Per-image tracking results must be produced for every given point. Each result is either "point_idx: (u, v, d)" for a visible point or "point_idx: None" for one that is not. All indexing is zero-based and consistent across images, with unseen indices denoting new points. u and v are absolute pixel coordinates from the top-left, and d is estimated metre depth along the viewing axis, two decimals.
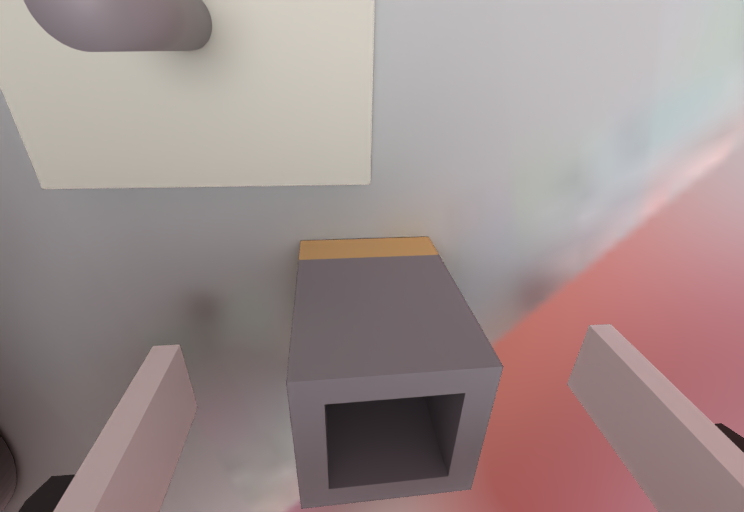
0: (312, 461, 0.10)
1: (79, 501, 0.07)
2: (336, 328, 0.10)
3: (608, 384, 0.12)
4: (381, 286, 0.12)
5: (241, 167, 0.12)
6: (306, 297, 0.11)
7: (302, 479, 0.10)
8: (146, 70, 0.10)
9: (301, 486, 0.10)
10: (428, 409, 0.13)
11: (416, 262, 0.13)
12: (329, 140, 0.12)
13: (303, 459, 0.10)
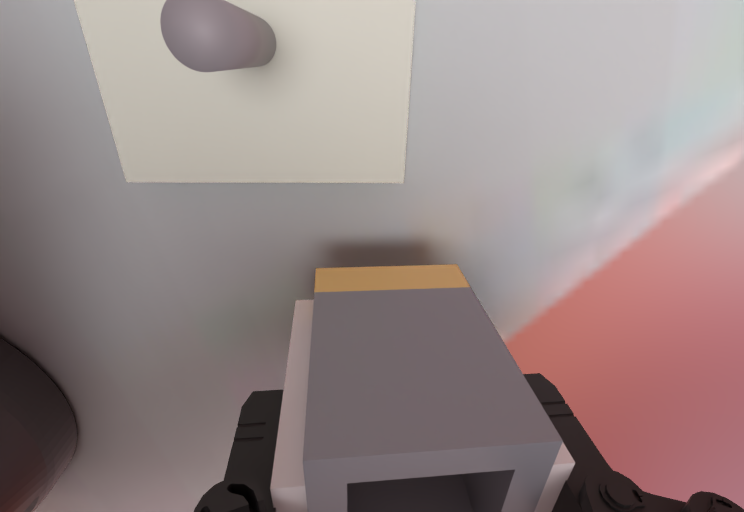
0: None
1: (297, 401, 0.09)
2: (359, 384, 0.08)
3: None
4: (408, 327, 0.10)
5: (292, 166, 0.14)
6: (324, 340, 0.10)
7: None
8: (219, 83, 0.12)
9: None
10: None
11: (446, 296, 0.12)
12: (369, 143, 0.13)
13: None
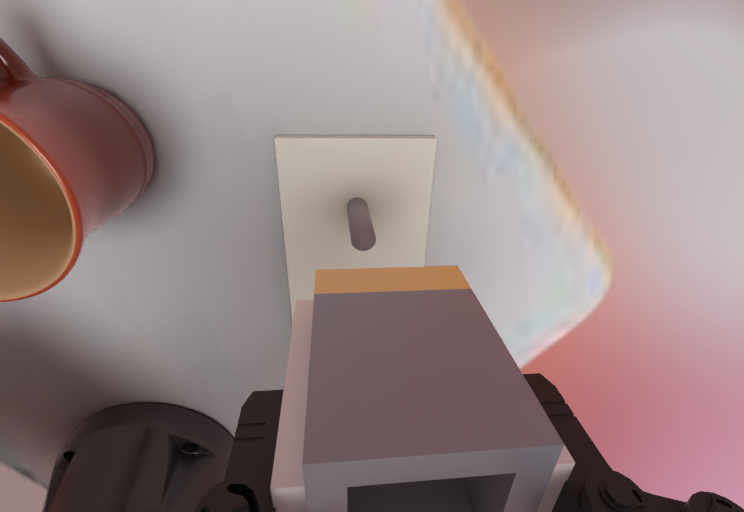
0: None
1: (297, 401, 0.09)
2: (360, 386, 0.08)
3: None
4: (409, 329, 0.10)
5: None
6: (324, 343, 0.10)
7: None
8: None
9: None
10: None
11: (446, 298, 0.12)
12: None
13: None
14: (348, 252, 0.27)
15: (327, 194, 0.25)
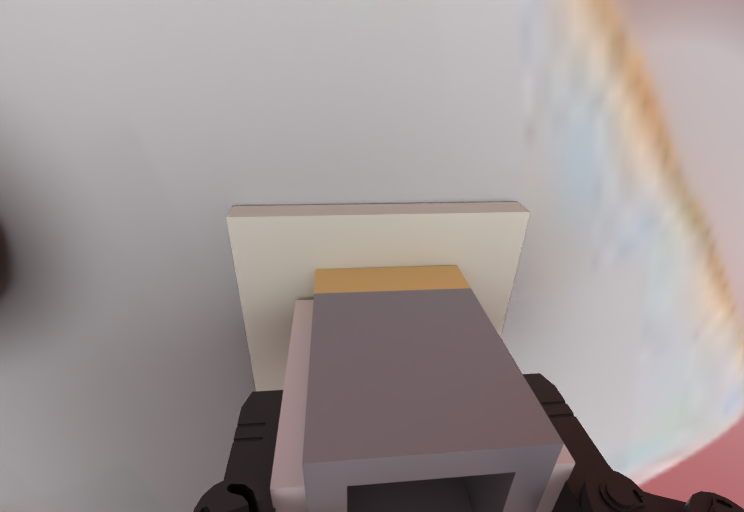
0: None
1: (297, 401, 0.09)
2: (359, 385, 0.08)
3: None
4: (409, 329, 0.10)
5: None
6: (323, 342, 0.10)
7: None
8: None
9: None
10: None
11: (446, 298, 0.12)
12: None
13: None
14: None
15: None
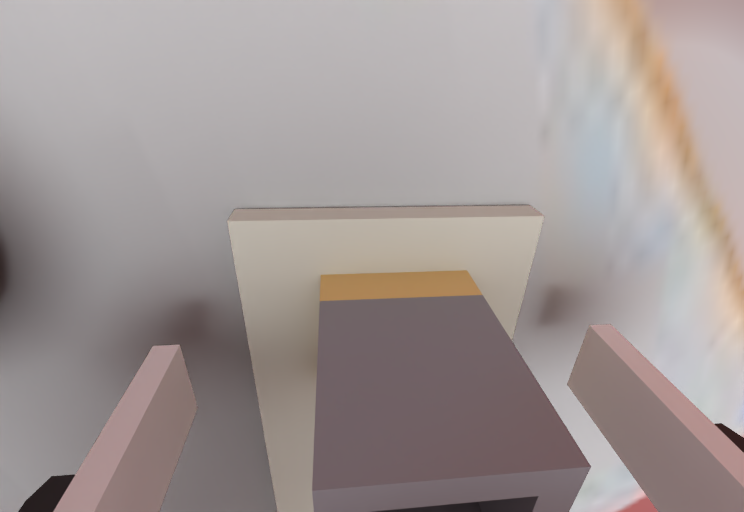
0: None
1: (79, 501, 0.07)
2: (371, 402, 0.08)
3: (608, 384, 0.12)
4: (420, 339, 0.10)
5: None
6: (331, 354, 0.09)
7: None
8: None
9: None
10: None
11: (457, 305, 0.11)
12: None
13: None
14: None
15: None
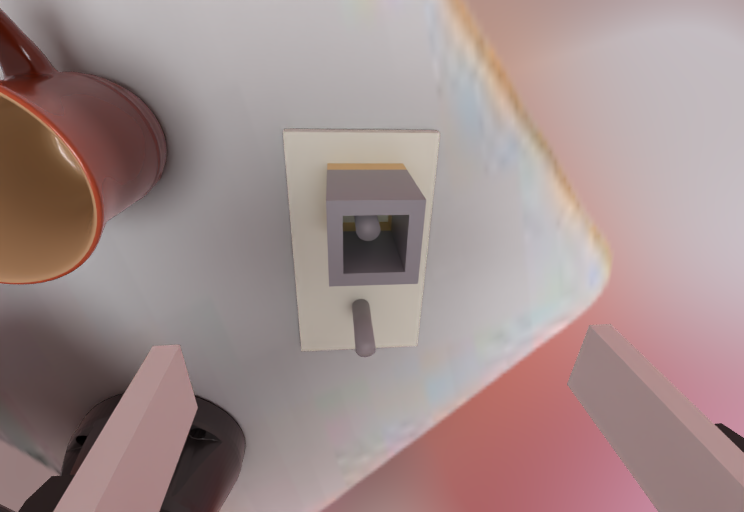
0: (335, 252, 0.20)
1: (79, 501, 0.07)
2: (348, 189, 0.20)
3: (608, 384, 0.12)
4: (372, 178, 0.22)
5: None
6: (332, 180, 0.21)
7: (330, 264, 0.20)
8: (345, 318, 0.31)
9: (329, 269, 0.20)
10: (398, 252, 0.23)
11: (393, 171, 0.23)
12: (403, 333, 0.32)
13: (331, 250, 0.20)
14: None
15: None
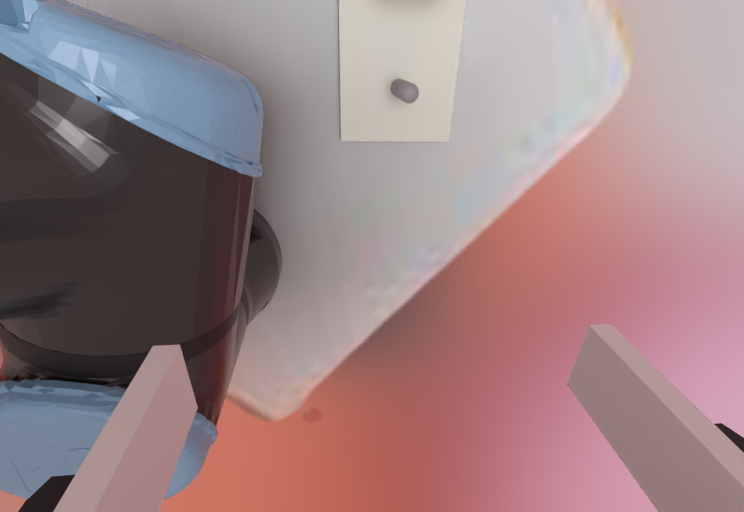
0: None
1: (79, 501, 0.07)
2: None
3: (608, 384, 0.12)
4: None
5: (406, 134, 0.34)
6: None
7: None
8: (384, 102, 0.33)
9: None
10: None
11: None
12: (437, 125, 0.34)
13: None
14: (394, 9, 0.29)
15: None
